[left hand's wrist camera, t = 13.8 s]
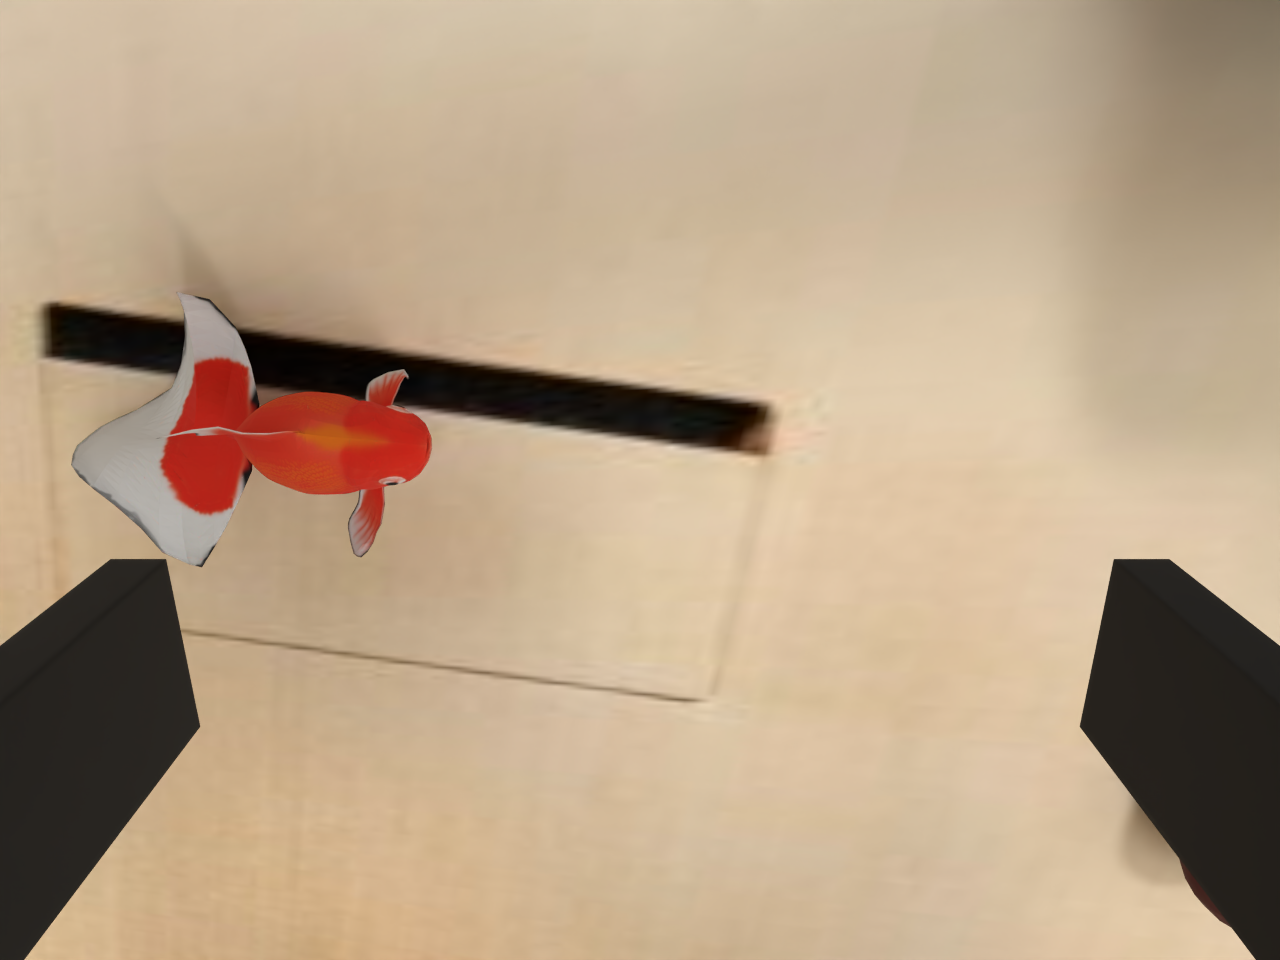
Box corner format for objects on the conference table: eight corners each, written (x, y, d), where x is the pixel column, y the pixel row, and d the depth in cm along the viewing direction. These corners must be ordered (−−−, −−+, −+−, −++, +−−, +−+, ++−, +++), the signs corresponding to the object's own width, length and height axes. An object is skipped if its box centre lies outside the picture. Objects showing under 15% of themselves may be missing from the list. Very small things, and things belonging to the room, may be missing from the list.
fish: (423, 642, 39) (258, 661, 29) (166, 516, 44) (-44, 498, 35) (510, 408, 39) (372, 352, 29) (242, 310, 44) (52, 235, 34)
